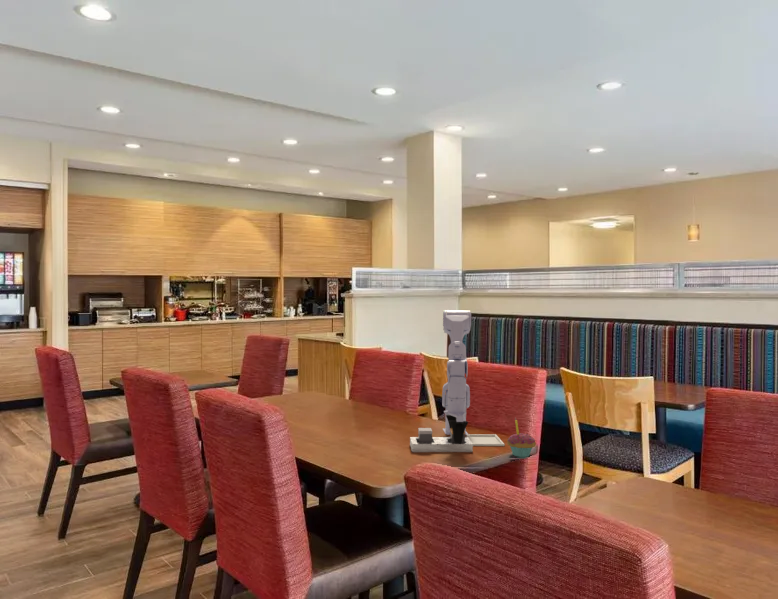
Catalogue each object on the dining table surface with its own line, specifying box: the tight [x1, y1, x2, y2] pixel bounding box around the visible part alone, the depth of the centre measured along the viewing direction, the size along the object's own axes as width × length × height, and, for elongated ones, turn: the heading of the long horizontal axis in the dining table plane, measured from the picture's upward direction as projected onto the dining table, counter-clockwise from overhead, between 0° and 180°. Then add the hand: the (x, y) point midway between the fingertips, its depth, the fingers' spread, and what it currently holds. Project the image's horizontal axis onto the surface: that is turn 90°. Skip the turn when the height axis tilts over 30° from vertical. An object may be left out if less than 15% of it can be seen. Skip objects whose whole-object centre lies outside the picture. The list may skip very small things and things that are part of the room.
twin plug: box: [417, 427, 433, 443], centre depth 195 cm, size 4×4×6 cm
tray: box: [465, 433, 505, 447], centre depth 205 cm, size 13×10×1 cm
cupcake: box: [506, 417, 536, 460], centre depth 188 cm, size 9×8×12 cm
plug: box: [449, 428, 466, 443], centre depth 195 cm, size 4×4×6 cm
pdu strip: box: [409, 436, 474, 453], centre depth 195 cm, size 9×19×3 cm, turn 92°
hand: (456, 439), depth 195 cm, fingers open, 7 cm apart
